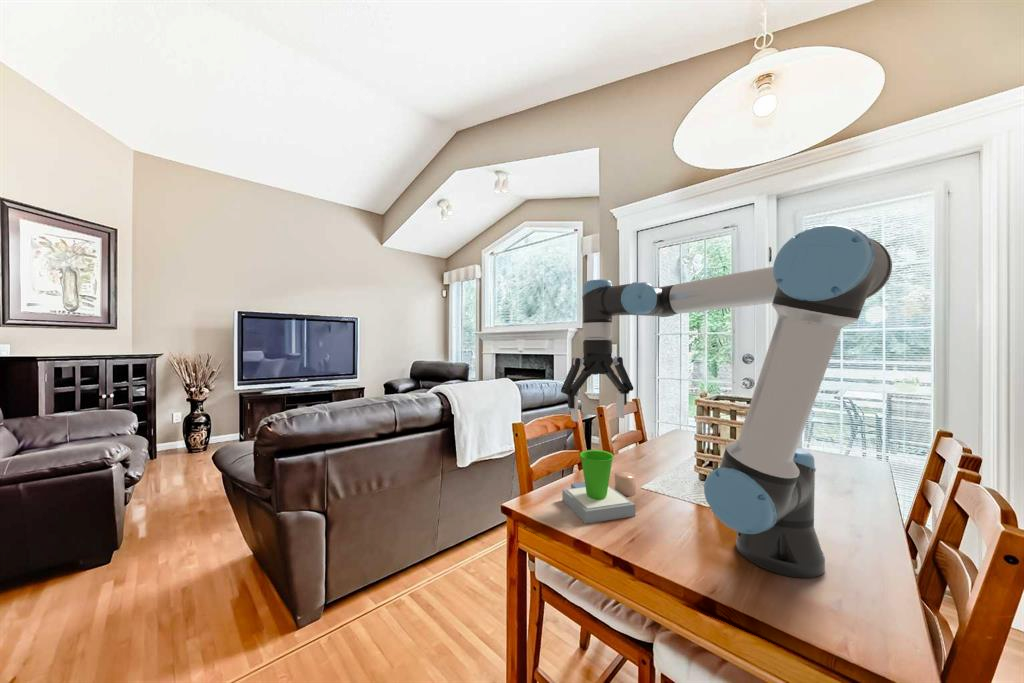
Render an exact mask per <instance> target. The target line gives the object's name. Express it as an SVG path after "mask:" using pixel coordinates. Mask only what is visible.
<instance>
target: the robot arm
mask: <svg viewBox="0 0 1024 683" xmlns="http://www.w3.org/2000/svg"><path fill="white" fill-rule="evenodd" d="M892 270H893V260H892V257H891V255H890V253H889V251H888V250H887V249H886V247H885V246H884V245H882V244H881V242H879V241H877V240H875V239H873V238H871V237H869V236H867V234H865V233H863V232H862V231H860V230H859V229H856V228H854V227H850V226H849V227H848V226H843V225H836V224H825V225H824V224H823V225H819V226H813V227H810V228H807V229H805V230H802V231H800V232H798V233H797V234H795V235H794V236H793V237H791V238H790V239H788V241H786V242H785V243H784V245H782V246H781V248H780V249H779V251H778V252H777V254H776V256H775V259H774V261H773V265H772V266H767V267H762V268H757V269H751V270H747V271H740V272H734V273H729V274H724V275H719V276H714V277H708V278H702V279H698V280H692V281H687V282H681V283H675V284H671V285H665V286H664V285H663V286H652V284H651V283H649V282H646V281H645V282H644V281H643V282H636V281H635V282H632V283H626V284H620V285H619V284H618V285H614V286H613V283H612V281H611V280H610V279H609V280H608V279H591V280H587V281H586V282H584V283H583V287H582V288H583V289H582V315H583V316H582V319H583V320H582V321H583V322H582V333H583V334H582V337H583V338H584V340H583V342H582V351H583V358H579V357H572V359H571V367H570V368H569V371H568V374H567V375H566V378H565V380H564V382H563V385H562V386H561V388H560V393H561V394H564V395H567V407H568V408H569V409H570V420H571V421H573V422H575V423H578V422H579V396H577V395H576V394H577V393H578V392H579V390H581V388H582V386H584V384H585V383H586V382H587V381H588V380H587V379H588V378H589V377H591V376H592V375H605V376H607V378H608V379H609V380H610V382H611V383H612V384H613V386H614V387H615V388H616V389H617V390H618V392H616V397H615V398H616V401H615V402H616V405H615V406H616V407H615V408H616V411H615V412H616V413H615V414H616V417H617V418H619V419H625V406H627V403H628V400H627V398H628V397H627V396H628V395H627V394H629V393H630V392H632V391H634V386H633V383H632V381H631V379H630V377H629V374H628V373H627V370H626V368H625V366H624V361H623V360H624V359H623V357H622V356H614V357H612V353H613V341H612V340H611V339H612V338H613V317H615V316H643V317H644V316H647V317H648V316H649V317H650V316H652V317H660V318H667V317H673V316H676V315H681V314H687V313H688V314H689V313H696V312H697V313H698V312H705V311H715V310H722V309H731V308H741V307H748V306H749V307H750V306H751V307H752V306H757V305H765V304H766V305H767V304H771V306H772V307H773V309H774V310H775V311H776V313H777V315H778V318H777V320H776V324H775V327H774V330H773V333H772V337H771V339H770V342H769V345H768V349H767V351H766V355H765V357H764V361H763V364H762V366H761V370H760V373H759V376H758V378H757V382H756V386H755V388H754V391H753V395H752V397H751V400H750V402H749V405H748V406H749V407H748V408H747V412H746V415H745V419H744V422H743V425H742V428H741V431H740V434H739V436H738V439H736V440H733V441H730V442H728V443H727V444H726V446H725V449H724V452H723V455H722V458H721V461H720V465H719V466H718V467H717V468H715V469H713V470H712V471H711V472H710V473H709V474H708V475H707V477H706V479H705V480H704V486H703V492H704V494H703V495H704V498H705V501H706V502H707V504H708V506H709V508H710V510H711V512H712V514H713V515H714V516H715V517H716V518H717V519H718V520H719V521H720V522H721V523H722V524H724V526H726V527H728V528H729V529H731V530H733V531H735V532H737V533H736V544H735V545H736V549H737V551H738V552H739V554H740V555H741V556H743V557H744V558H745V559H746V560H747V561H748V562H750V563H752V564H754V565H756V566H757V567H760V568H762V569H764V570H766V571H770V572H772V573H775V574H778V575H780V576H781V575H782V576H785V577H786V576H787V577H791V578H800V579H811V578H816V577H820V576H821V575H823V574H824V573H825V571H826V568H825V567H826V559H825V558H826V557H825V554H824V552H823V550H822V547H821V544H820V541H819V539H818V535H817V532H816V529H815V488H816V487H815V484H816V483H815V482H816V481H815V479H816V476H815V474H816V471H817V468H816V465H815V457H814V455H813V454H812V453H811V452H809V451H807V450H804V449H802V448H799V444H800V441H801V438H802V435H803V433H804V431H805V428H806V425H807V422H808V420H809V417H810V414H811V413H812V412H811V411H812V410H813V406H814V403H815V401H816V397H817V395H818V392H819V390H820V387H821V385H822V382H823V380H824V377H825V373H826V371H827V368H828V366H829V363H830V361H831V357H832V355H833V352H834V350H835V347H836V344H837V342H838V339H839V335H840V334H841V332H842V329H843V328H844V327H846V326H849V325H851V324H853V323H855V322H857V321H859V318H860V315H861V313H862V310H863V307H864V305H865V302H866V300H867V299H869V298H871V297H872V296H874V295H875V294H877V293H878V292H879V291H880V290H882V289H883V287H885V285H886V284H887V282H888V281H889V279H890V278H891V277H890V276H891V275H892V274H891V273H892ZM582 365H583V366H584V367H583V368H582V370H581V372H580V374H579V375H578V373H579V370H580V367H582ZM612 365H614V368H615V370H616V372H617V374H615V371H614V370H613V368H612V367H611V366H612ZM577 375H578V377H577ZM617 375H618V376H619V377H618V376H617ZM576 377H577V378H576Z"/></svg>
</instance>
